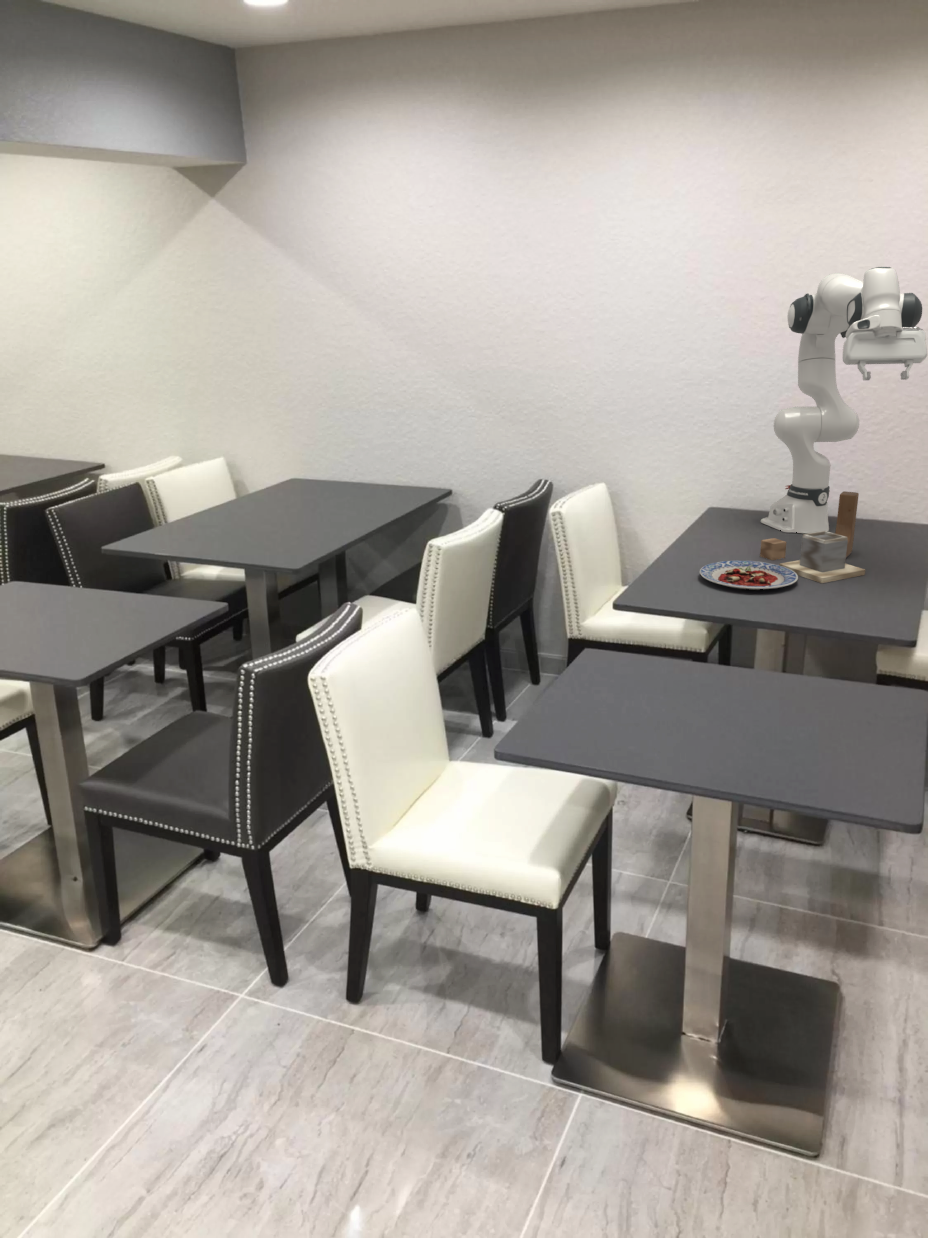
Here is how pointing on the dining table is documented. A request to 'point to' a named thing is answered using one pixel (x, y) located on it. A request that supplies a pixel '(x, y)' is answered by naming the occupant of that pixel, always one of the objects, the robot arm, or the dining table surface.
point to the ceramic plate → (748, 574)
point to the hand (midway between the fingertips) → (885, 379)
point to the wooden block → (847, 517)
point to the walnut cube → (773, 549)
